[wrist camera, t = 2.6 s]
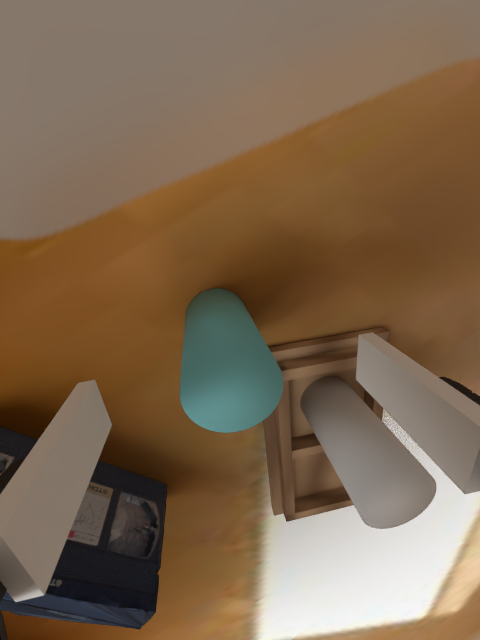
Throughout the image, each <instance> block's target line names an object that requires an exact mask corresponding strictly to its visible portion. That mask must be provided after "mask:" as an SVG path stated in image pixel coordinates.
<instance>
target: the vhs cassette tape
mask: <svg viewBox="0 0 480 640" xmlns="http://www.w3.org/2000/svg"><path fill="white" fill-rule="evenodd" d="M37 441H38V439H35V438H32V437H29V436H26V435H23V434H20V433H17V432H14V431H11V430H8V429H5V428H2V427H0V475H1V474H2V473H3V472H4V471H5V470H6V469H7V468H8V467H10V466H11V465H12V464H13V463H14V462H15V461H16V460H19V459H24V458H26V457H27V456H28V454H29V453H30V451H31V450H32V448H33V447H34V445H35V444H36V443H37ZM166 497H167V485H166V484H164V483H161V482H158V481H156V480H153V479H150V478H147V477H144V476H142V475H139V474H136V473H133V472H130V471H127V470H125V469H122V468H119V467H116V466H113V465H110V464H107V463H104V462H101V461H98V462H97V464H96V467H95V469H94V472H93V474H92V477H91V479H90V482H89V485H88V487H87V490H86V492H85V495H84V497H83V500H82V502H81V505H80V507H79V510H78V512H77V515H76V517H75V520H74V522H73V525H72V527H71V530H70V532H69V535H68V537H67V540H66V542H65V545H64V547H63V550H62V552H61V555H60V557H59V560H58V562H57V565H56V567H55V570H54V573H53V575H52V578H51V580H50V583H49V585H48V588H47V590H46V593H45V595H43V596H39V597H35V598H31V599H27V600H23V601H18V602H15V601H14V599H13V598H12V597H11V596H10V595H9V593H8V592H7V591H6V593H5V595H4V597H3V599H2V601H1V603H0V611H9V612H12V613H14V614H17V615H24V616H35V617H42V618H49V619H57V620H65V621H73V622H81V623H91V624H101V625H112V626H120V627H126V628H135V629H141V627H142V626H143V625H144V624H145V623H146V622H147V621H149V620H150V619H151V617H152V616H153V615H154V614H155V612H156V603H157V595H158V585H159V575H158V574H157V573H158V571H159V569H160V566H161V553H162V543H163V535H164V521H165V511H166Z"/></svg>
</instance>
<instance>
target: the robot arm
mask: <svg viewBox="0 0 480 640" xmlns="http://www.w3.org/2000/svg"><path fill="white" fill-rule="evenodd" d="M356 380H357V381H358V382H359V383H360V384H361V385H362V386H363V387H364V389H365V390H366V391H367V392H368V393H369V394H370V395H371V396H372V397H373V398H374V399H375V400H376V401H377V402H378V403H379V404H380V405H381V406H382V407H383V409H384V410H385V411H386V412H387V413H388V414H389V415H390V416H391V417H392V418H393V419H394V420H395V421H396V422H397V423H398V424H399V425H400V426H401V427H402V429H403V430H404V431H405V432H406V433H407V434H408V435H409V436H410V437H411V438H412V439H413V440H414V441H415V442H416V443H417V444H418V445H419V446H420V447H421V449H422V450H423V451H424V452H425V453H426V454H427V455H428V456H429V457H430V458H431V459H432V460H433V461H434V462H435V463H436V464H437V465H438V466H439V468H440V469H441V470H442V471H443V472H444V473H445V474H446V475H447V476H448V477H449V478H450V479H451V480H452V481H453V482H454V483H455V484H456V485H457V486H458V488H459V489H460V490H461V491H462V492H463V493H464V494H468V493H472V492H476V491H480V396H478V395H477V394H475V393H472V391H471V390H469V389H468V388H466V387H464V386H463V385H461V384H460V383H458V382H455V381H453V380H451V379H448V378H446V377H437V376H436V375H434V374H433V373H431V372H430V371H428V370H427V369H426V368H424V367H423V366H421V365H420V364H418V363H417V362H415V361H414V360H412V359H411V358H409V357H408V356H407V355H405V354H404V353H402V352H401V351H399V350H398V349H396V348H395V347H393V346H392V345H390V344H389V343H388V342H386V341H385V340H383V339H382V338H380V337H379V336H377V335H376V334H374V333H373V332H371V333H365V334H360V335H359V337H358V353H357V368H356ZM111 427H112V423H111V421H110V418H109V415H108V413H107V410H106V408H105V405H104V402H103V400H102V397H101V394H100V392H99V389H98V386H97V384H96V381H95V380H92V381H86V382H80V383H78V384H77V385H76V387H75V388H74V389H73V391H72V392H71V394H70V395H69V397H68V398H67V399H66V401H65V402H64V404H63V405H62V407H61V408H60V410H59V411H58V412H57V414H56V415H55V417H54V418H53V420H52V421H51V422H50V424H49V425H48V427H47V428H46V430H45V431H44V433H43V434H42V435H41V437H40V438H39V440H38V441H37V443H36V444H35V445H34V447H33V448H32V450H31V451H30V453H29V454H28V456H27V457H26V458H24V459H19V460H16V461H15V462H14V463H13V464H12V465H11V466H10V467H8V468H7V469H6V470H5V471H4V472H3V473H2V474H1V475H0V603H1V601H2V599H3V597H4V595H5V593H6V591H7V592H8V593H9V595H10V596H11V597H12V598H13V599H14V601H15V602H18V601H23V600H27V599H31V598H35V597H39V596H43V595H45V593H46V590H47V588H48V585H49V583H50V580H51V578H52V575H53V573H54V570H55V567H56V565H57V562H58V560H59V557H60V555H61V552H62V550H63V547H64V545H65V542H66V540H67V537H68V535H69V532H70V530H71V527H72V525H73V522H74V520H75V517H76V515H77V512H78V510H79V507H80V505H81V502H82V500H83V497H84V495H85V492H86V490H87V487H88V485H89V482H90V479H91V477H92V474H93V472H94V469H95V467H96V464H97V462H98V459H99V457H100V454H101V452H102V449H103V447H104V444H105V442H106V439H107V437H108V434H109V432H110V429H111ZM0 640H8V638H7V633H6V629H5V624H4V619H3V615H2V613H1V612H0Z"/></svg>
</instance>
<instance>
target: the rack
mask: <svg viewBox="0 0 480 640" xmlns="http://www.w3.org/2000/svg"><path fill="white" fill-rule="evenodd" d="M371 332H373V333H374V334H376V335H377V336H379V337H380V338H382V339H383V340H385V341H386V342H388V343H389V334H390V331H388V330H387V329H385V328H383V327H380V328H374V329H369V330H363V331H357V332H352V333H346V334H341V335H335V336H329V337H324V338H318V339H312V340H307V341H301V342H295V343H290V344H284V345H278V346H273V347H268V348H269V350H270V351H271V353H272V355H273V357H274V358H275V360H276V362H277V364H278V366H279V368H280V370H281V372H282V376H283V392H282V396H281V399H280V401H279V403H278V405H277V406H276V408H275V409H274V411H273V412H272V413H271V414H270V415H269V416H268V417H267V418H266V419H264V420H263V423H264V433H265V443H266V453H267V463H268V473H269V483H270V493H271V503H272V509H273V513H274V516H275V515H279V514H283V513H284V515H285V518H286V522H287V521H291V520H295V519H299V518H303V517H307V516H311V515H315V514H319V513H323V512H327V511H331V510H335V509H339V508H343V507H347V506H352V505H354V504H353V502H352V500H351V498H350V497H349V495H348V493H347V491H346V489H345V488H344V486H343V484H342V482H341V480H340V479H339V477H338V475H337V473H336V471H335V469H334V468H333V466H332V464H331V462H330V460H329V459H328V457H327V455H326V453H325V451H324V450H323V448H322V446H321V444H320V442H319V441H318V439H317V437H316V435H315V433H314V432H313V430H312V428H311V426H310V424H309V422H308V421H307V419H306V417H305V415H304V413H303V412H302V410H301V406H300V400H301V396H302V394H303V392H304V391H305V389H306V388H307V387H308V386H309V385H310V384H311V383H312V382H314V381H315V380H317V379H320V378H322V377H327V376H335V377H339V378H341V379H343V380H344V381H346V383H347V384H348V385H349V386H350V387H351V388H352V389H353V390H354V391H355V392H356V394H357V395H358V396H359V397H360V398H361V399H362V400H363V401H364V402H365V403H366V405H367V406H368V407H369V408H370V409H371V410H372V411H373V412H374V413H375V414H376V416H377V417H378V418H379V419H380V420H381V421H382V414H383V407H382V406H381V405H380V404H379V403H378V402H377V401H376V400H375V399H374V398H373V397H372V396H371V395H370V394H369V393H368V392H367V391H366V390H365V389H364V387H363V386H362V385H361V384H360V383H359V382H358V381H357V380H356V368H357V353H358V337H359V335H360V334H365V333H371Z"/></svg>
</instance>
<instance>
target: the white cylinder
mask: <svg viewBox="0 0 480 640" xmlns="http://www.w3.org/2000/svg"><path fill="white" fill-rule="evenodd" d="M300 406H301V410H302V412H303V413H304V415H305V417H306V419H307V421H308V422H309V424H310V426H311V428H312V430H313V432H314V433H315V435H316V437H317V439H318V441H319V442H320V444H321V446H322V448H323V450H324V451H325V453H326V455H327V457H328V459H329V460H330V462H331V464H332V466H333V468H334V469H335V471H336V473H337V475H338V477H339V479H340V480H341V482H342V484H343V486H344V488H345V489H346V491H347V493H348V495H349V497H350V498H351V500H352V502H353V504H354V506H355V507H356V509H357V511H358V513H359V515H360V516H361V518H362V520H363V521H364V523H365V524H367V525H368V526H370V527H373V528H378V529H386V528H392V527H396V526H399V525H402V524H404V523H406V522H408V521H410V520H412V519H414V518H415V517H417V516H418V515H419V514H421V513H422V512H423V511H424V510H425V509H426V508H427V507H428V505H429V504H430V503H431V501H432V500H433V498H434V496H435V493H436V482H435V480H434V478H433V477H432V476H431V475H430V474H429V473H428V471H427V470H426V469H425V468H424V467H423V466H422V465H421V464H420V463H419V462H418V461H417V459H416V458H415V457H414V456H413V455H412V454H411V453H410V452H409V451H408V450H407V448H406V447H405V446H404V445H403V444H402V443H401V442H400V441H399V440H398V439H397V437H396V436H395V435H394V434H393V433H392V432H391V431H390V430H389V429H388V428H387V426H386V425H385V424H384V423H383V422H382V421H381V420H380V419H379V418H378V417H377V416H376V414H375V413H374V412H373V411H372V410H371V409H370V408H369V407H368V406H367V405H366V403H365V402H364V401H363V400H362V399H361V398H360V397H359V396H358V395H357V394H356V392H355V391H354V390H353V389H352V388H351V387H350V386H349V385H348V384H347V383H346V381H344V380H343V379H341V378H339V377H335V376H327V377H322V378H320V379H317V380H315V381H314V382H312V383H311V384H310V385H309V386H308V387H307V388H306V389H305V391H304V392H303V394H302V396H301V400H300Z"/></svg>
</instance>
